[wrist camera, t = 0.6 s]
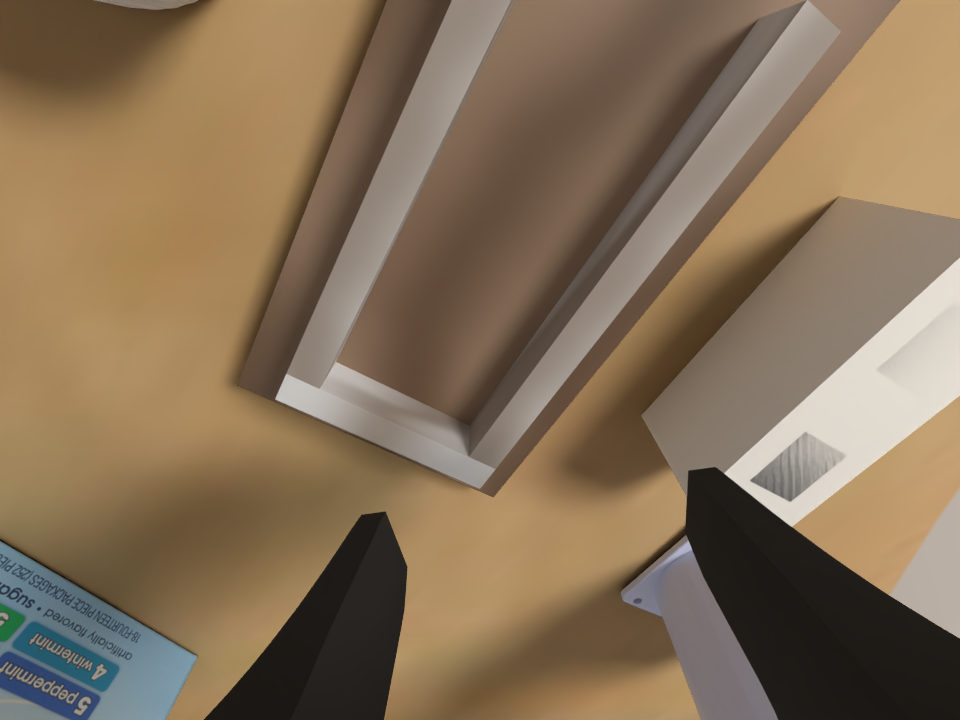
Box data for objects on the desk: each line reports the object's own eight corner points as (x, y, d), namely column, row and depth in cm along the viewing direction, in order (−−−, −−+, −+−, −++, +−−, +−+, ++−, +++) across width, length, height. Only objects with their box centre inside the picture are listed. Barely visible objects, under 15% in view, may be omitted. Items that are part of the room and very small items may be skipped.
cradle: (880, -16, 13) (1006, -61, 10) (492, 474, 22) (494, 532, 19) (544, -358, 10) (573, -573, 7) (254, 367, 19) (210, 414, 16)
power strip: (907, 250, 17) (1081, 300, 12) (704, 447, 21) (771, 542, 16) (836, 195, 16) (994, 226, 11) (639, 413, 20) (690, 503, 15)
